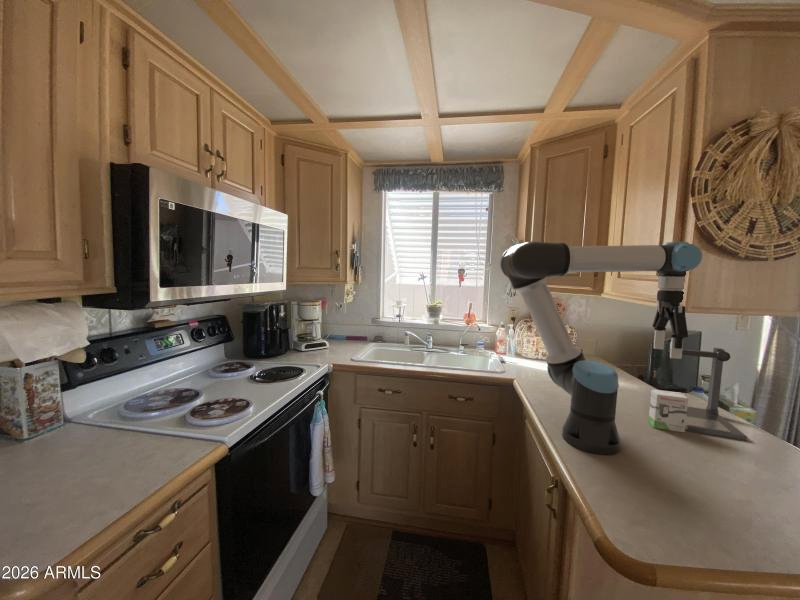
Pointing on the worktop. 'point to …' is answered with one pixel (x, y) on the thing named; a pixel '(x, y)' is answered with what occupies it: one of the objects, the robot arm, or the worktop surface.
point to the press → (712, 410)
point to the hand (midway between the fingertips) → (666, 353)
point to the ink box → (668, 410)
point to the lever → (708, 354)
